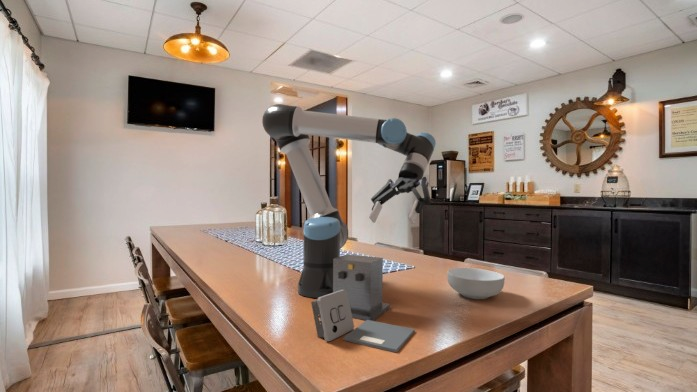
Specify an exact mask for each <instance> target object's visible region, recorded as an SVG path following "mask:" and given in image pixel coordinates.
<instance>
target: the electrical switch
mask: <svg viewBox="0 0 697 392" xmlns="http://www.w3.org/2000/svg"><path fill="white" fill-rule="evenodd" d="M310 303H311V309H312V314H313V319H314V323H315V325H314V326H315V329H316V336H317V338H324V340H325V342H331V341H333V340H335V339H338V338H339V337H341V336H343V335H346V334H348V333H350V332H351V331H353V330H354V329H355V325H354V324H355V323H354V318H352V313H351V309H350V304H349V299H348V294H347V291H346V290H340V291H337V292H334V293H331V294H328V295H325V296H322V297H319V298H317V299H315V300H313V301H312V300H311V302H310Z"/></svg>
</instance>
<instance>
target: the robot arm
mask: <svg viewBox="0 0 697 392" xmlns="http://www.w3.org/2000/svg"><path fill="white" fill-rule="evenodd" d="M261 119H262V121H261V122H262V127H263V130H264V131H265V132H266V134H267V135H269V136H270V137H272V138H273V139H275V141H276V143H277V146H278V149H279V151H280V153H282V154H284V155H286V157H287V158H286V159H287V160H288V163H289V166H290V168H291V171H292V172H293V175H294V178H295V181H296V184H297V187H298V188H299V190H300V191H299V192H300V193H301V196H302V199H303V201H304V203H305V207H306V208H307V211H308V214H309V218H308V219H306V220H305V222H304V224H303V231H302V235H303V268H302V270H301V275H300V277H299V280H298V284H297V293H298V295H301V296H304V297H307V298H313V299H318V298H319V297H322V296H325V295H328V294H331V293H333V259H334V258H337V257H340V256H341V250H342V248H343V247H345V245H346V244H347V242H348V238H349V229H348V226H347V225H346V223H345V222H344V221H343V219H342V217H341V215H340V212H339V210H338V208H335V207H333V206H332V203H331V200H330V197H329V196H328V193H327V190H326V188H325V185H324V182H323V181H322V178H321V175H320V173H319V170H318V167H317V165H316V163H315V160H314V158H313V155H312V152H311V149H310V147H309V145H310V142H311V138H310V136H316V137H322V138H323V137H324V138H332V139H339V140H348V141H358V142H364V143H374V144H375V143H376V144H378V145H379V146H382V147H384V148H387V149H389V150H391V151H394V152H397V153H398V154H401V155H404V156H406V158H405V160H404V162H403V164H402V166H401V167H400V170H399V172H398V178H397V179H395V180H392V178H389V179H388V180H387V182H386V183H385V184H384V185H383V186H382V187H381V188H380V189H379V190H378V191H377V192H376V193H375V194H374V195H373V196H372V197H371V198H370V200H371V202H372V203H373V205H372V207H371V213H370V214H369V219H370V221H371V222H372V224H374V223H376V221H377V220H378V217H379V216H380V213H381V210H382V209H383V205H384V204H385V203H387V202H389V200H391V199H392V198H393V197H395V196H398V195H400V194H404V193H407V194H410V192H412V194H413V195H414V196H415V198H416V199H417V200H414V202H413V205H412V207H411V210H410V211H409V214H408V217H407V218H408V220H409V221H410V223H411V224H413V225H415V223H416V220H417V217H418V215H419V214H421V213H422V210H423V207H424V206H425V205H426V204H427V205H430V204H432V199H431V195H430V191H429V181H428V179H427V177H426V176H424V174H425V172H426V169H427V167H428V165H429V162H430V160H431V158H432V155H433V153H434V151H435V147H436V139H435V137H434V136H433V135H432V134H431V133H429V132H420V133H418V134H417V135H415V134H412V133H410V132H408V131H407V127H406V124H405V123H404V122H403V121H402V120H401V119H400V118H397V117H396V118H395V117H392V118H388V119H383V118H382V119H380V118H373V117H363V116H355V115H347V114H346V115H345V114H337V113H330V112H329V113H328V112H320V111H312V110H303V109H302V107H300V106H295V105H289V104H283V103H282V104H281V103H280V104H279V103H276V104H274V105H270V106H269V107H268V108H267V109H266V110H265V111H264V113H263V115H262V118H261ZM419 186H421V188H422V192H423V197H422V196H421V194H420V193H419V191H418V190H417V188H418V187H419ZM396 189H397V190H396Z"/></svg>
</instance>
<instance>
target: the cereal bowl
mask: <svg viewBox="0 0 697 392" xmlns="http://www.w3.org/2000/svg"><path fill="white" fill-rule="evenodd" d="M446 276H447V282H448V284H449V286H450V288H451V289H452V290H454V291H456V292H457V293H460V295H461V296H463V297H465V298H467V299H474V300H486V299H488V298H489V297H494V296H497V295H498V294H500V293H501V291H502V290H503V288H504V287H505V275H504V274H502V273H499V272H496V271H493V270H489V269H483V268H477V267H454V268H449V269H448V270H447V273H446Z"/></svg>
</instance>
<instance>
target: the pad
mask: <svg viewBox="0 0 697 392" xmlns="http://www.w3.org/2000/svg"><path fill="white" fill-rule="evenodd" d="M414 333H415V328H411V327H407V326H401V325H395V324H390V323H386V322H381V321H377V320H376V321H375V320H374V321H371V320H364V322H362V323H361V324H359V325H358V326H357V327H356V328H355V327H354V329H353V330H352V331H350V332H348V333H346V334H345V336H343V341H345V342H350V343H354V344H356V345H357V344H359V345H362V346H365V347H366V346H367V347H370V348H374V349H375V348H376V349H379V350H383V351H388V352H392V353H398V351H399V350H400V349H401V348H402V347H403V346H404V345H405V343H406V342H407V341H408V340H409V339H410V337H412V335H414Z"/></svg>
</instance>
